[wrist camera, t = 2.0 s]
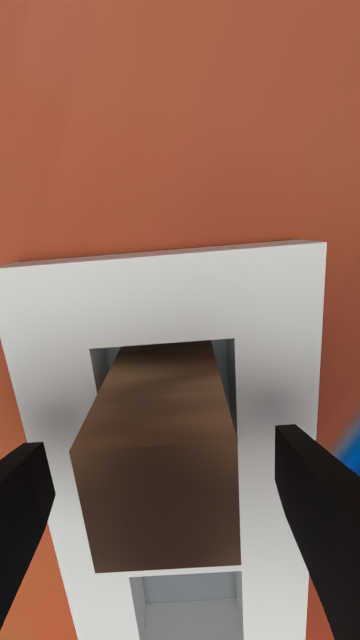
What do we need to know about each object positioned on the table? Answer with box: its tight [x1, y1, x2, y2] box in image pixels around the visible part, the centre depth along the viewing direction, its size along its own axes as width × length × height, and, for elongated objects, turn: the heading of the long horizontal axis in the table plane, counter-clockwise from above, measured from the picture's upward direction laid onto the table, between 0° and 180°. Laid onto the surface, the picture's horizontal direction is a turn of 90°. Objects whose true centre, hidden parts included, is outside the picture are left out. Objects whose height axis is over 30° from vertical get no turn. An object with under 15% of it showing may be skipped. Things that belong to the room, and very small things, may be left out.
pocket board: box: [0, 239, 327, 640], centre depth 15 cm, size 12×24×2 cm, turn 5°
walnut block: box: [69, 340, 241, 573], centre depth 11 cm, size 4×4×7 cm
